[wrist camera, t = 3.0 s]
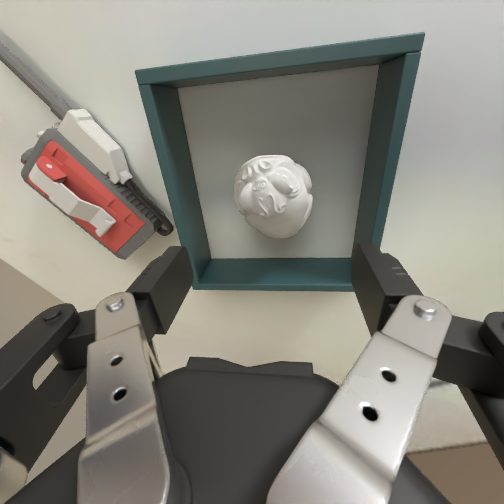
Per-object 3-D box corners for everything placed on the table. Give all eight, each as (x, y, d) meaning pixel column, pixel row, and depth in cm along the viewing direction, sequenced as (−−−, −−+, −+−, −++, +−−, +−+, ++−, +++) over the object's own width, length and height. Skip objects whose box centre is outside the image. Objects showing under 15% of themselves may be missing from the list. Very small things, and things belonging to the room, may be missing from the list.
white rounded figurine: (293, 129, 20) (295, 140, 14) (320, 204, 23) (332, 240, 17) (228, 162, 22) (206, 184, 16) (261, 227, 25) (253, 267, 19)
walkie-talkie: (191, 213, 25) (-4, 15, 18) (175, 232, 21) (-79, -7, 15) (143, 256, 28) (-35, 105, 22) (121, 280, 25) (-101, 105, 18)
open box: (164, 76, 19) (133, 70, 15) (394, 47, 17) (426, 31, 13) (205, 264, 28) (192, 290, 24) (358, 263, 26) (371, 292, 22)
